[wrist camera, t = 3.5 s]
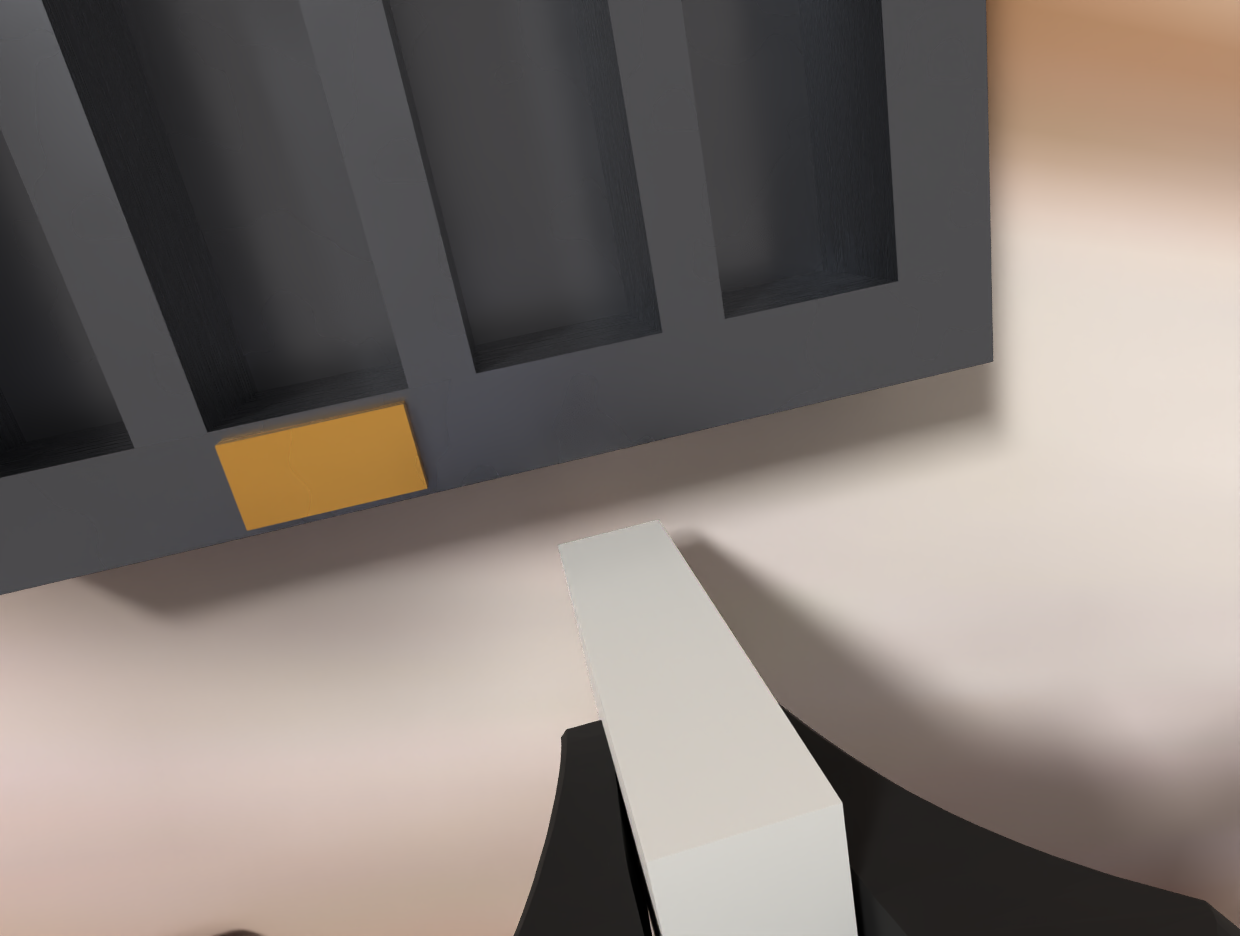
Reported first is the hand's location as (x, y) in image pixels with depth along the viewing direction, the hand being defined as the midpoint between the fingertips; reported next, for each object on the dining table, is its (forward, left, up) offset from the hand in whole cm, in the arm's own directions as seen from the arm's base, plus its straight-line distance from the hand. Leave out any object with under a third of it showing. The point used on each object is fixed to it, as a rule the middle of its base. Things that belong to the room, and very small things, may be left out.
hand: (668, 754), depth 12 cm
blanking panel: (0, 0, -2) cm, 2 cm away
